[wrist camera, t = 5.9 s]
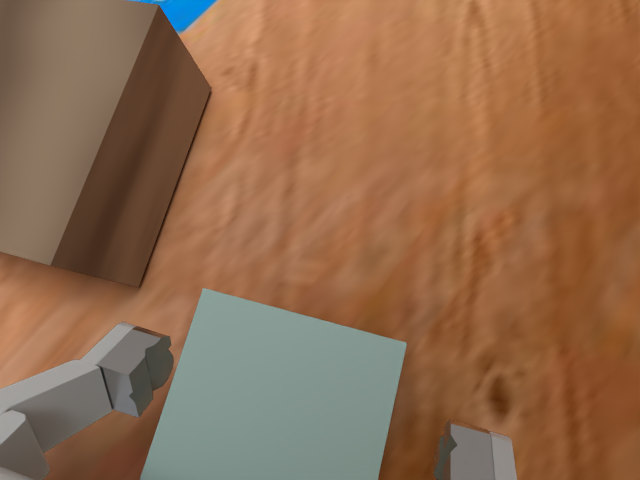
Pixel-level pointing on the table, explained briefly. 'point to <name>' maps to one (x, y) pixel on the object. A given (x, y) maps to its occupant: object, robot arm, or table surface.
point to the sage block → (275, 398)
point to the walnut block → (92, 131)
